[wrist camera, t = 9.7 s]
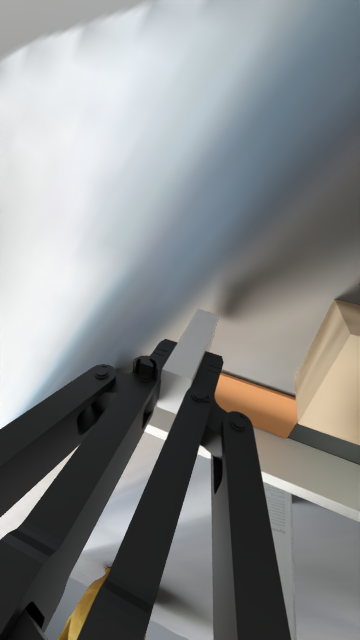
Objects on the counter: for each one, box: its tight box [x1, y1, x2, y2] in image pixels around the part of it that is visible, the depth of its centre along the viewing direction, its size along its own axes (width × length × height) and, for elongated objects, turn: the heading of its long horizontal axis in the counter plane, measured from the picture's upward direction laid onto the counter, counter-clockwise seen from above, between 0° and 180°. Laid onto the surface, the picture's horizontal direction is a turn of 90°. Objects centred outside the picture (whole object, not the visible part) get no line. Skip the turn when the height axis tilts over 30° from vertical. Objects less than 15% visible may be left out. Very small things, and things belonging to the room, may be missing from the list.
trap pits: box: [215, 284, 360, 439], centre depth 17 cm, size 15×19×1 cm
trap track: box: [145, 401, 360, 522], centre depth 16 cm, size 27×21×7 cm
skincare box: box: [263, 482, 296, 640], centre depth 21 cm, size 6×4×12 cm
